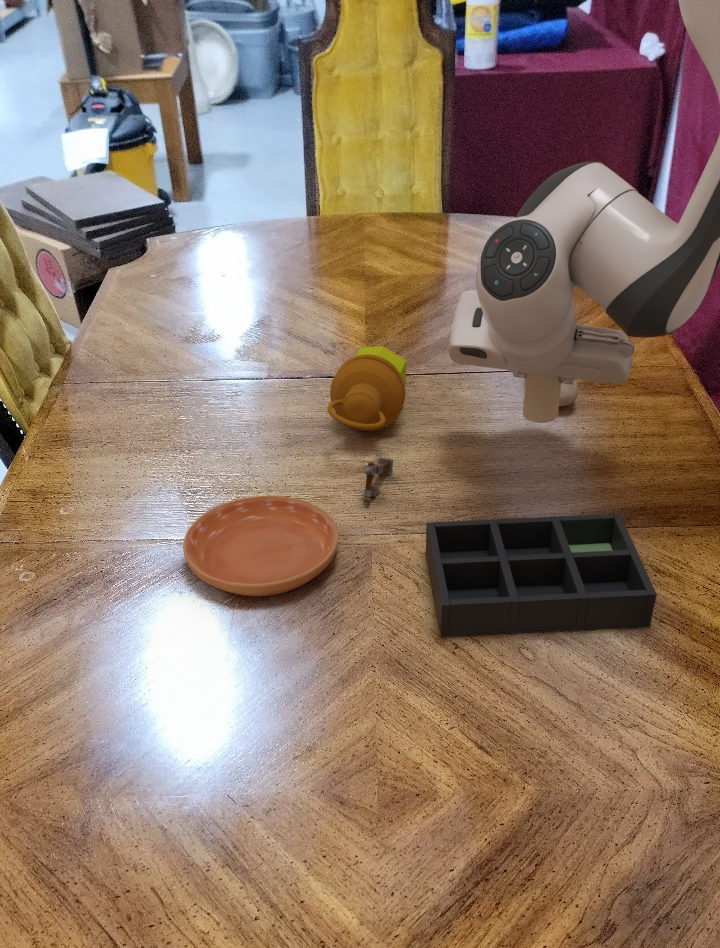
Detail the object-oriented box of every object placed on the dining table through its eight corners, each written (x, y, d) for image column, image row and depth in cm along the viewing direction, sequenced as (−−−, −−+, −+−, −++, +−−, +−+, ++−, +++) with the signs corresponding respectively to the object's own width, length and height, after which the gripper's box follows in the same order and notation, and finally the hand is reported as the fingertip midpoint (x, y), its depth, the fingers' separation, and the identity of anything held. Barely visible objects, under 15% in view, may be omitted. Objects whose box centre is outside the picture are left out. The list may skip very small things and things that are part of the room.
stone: (545, 401, 123) (510, 338, 129) (550, 433, 128) (516, 371, 135) (589, 383, 123) (552, 320, 129) (592, 415, 128) (556, 354, 134)
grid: (614, 544, 104) (620, 513, 102) (650, 626, 94) (657, 594, 92) (425, 553, 104) (426, 522, 101) (440, 637, 94) (441, 605, 91)
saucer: (228, 627, 95) (225, 603, 93) (162, 547, 106) (157, 524, 104) (368, 572, 101) (368, 548, 100) (293, 502, 112) (291, 479, 110)
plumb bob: (345, 379, 136) (306, 450, 115) (360, 315, 131) (322, 377, 110) (408, 398, 136) (380, 472, 115) (426, 334, 131) (400, 400, 110)
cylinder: (553, 405, 122) (561, 335, 116) (560, 422, 118) (569, 350, 112) (519, 407, 121) (525, 337, 116) (525, 423, 118) (532, 352, 112)
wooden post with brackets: (356, 502, 110) (360, 461, 108) (374, 493, 117) (378, 455, 116) (371, 505, 109) (376, 464, 108) (389, 495, 117) (393, 457, 115)
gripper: (640, 310, 101) (639, 360, 114) (447, 289, 107) (468, 338, 120) (627, 369, 101) (628, 412, 114) (434, 345, 107) (456, 389, 120)
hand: (544, 374), depth 117 cm, fingers closed on cylinder, 4 cm apart
